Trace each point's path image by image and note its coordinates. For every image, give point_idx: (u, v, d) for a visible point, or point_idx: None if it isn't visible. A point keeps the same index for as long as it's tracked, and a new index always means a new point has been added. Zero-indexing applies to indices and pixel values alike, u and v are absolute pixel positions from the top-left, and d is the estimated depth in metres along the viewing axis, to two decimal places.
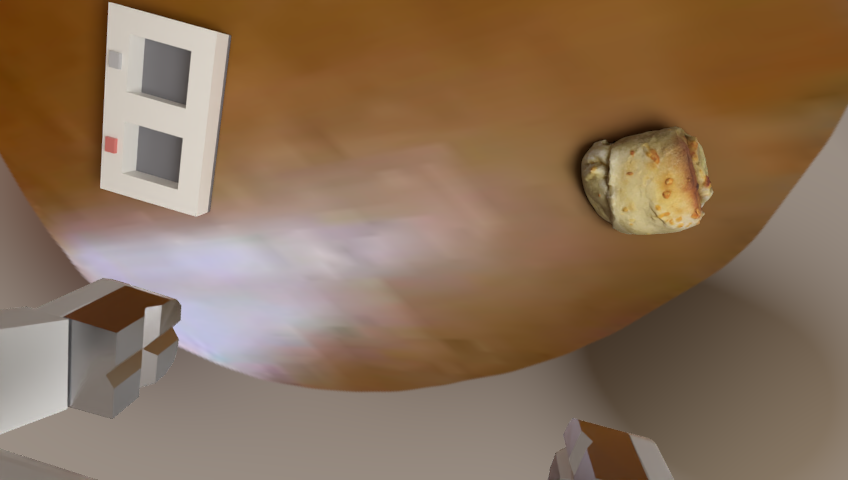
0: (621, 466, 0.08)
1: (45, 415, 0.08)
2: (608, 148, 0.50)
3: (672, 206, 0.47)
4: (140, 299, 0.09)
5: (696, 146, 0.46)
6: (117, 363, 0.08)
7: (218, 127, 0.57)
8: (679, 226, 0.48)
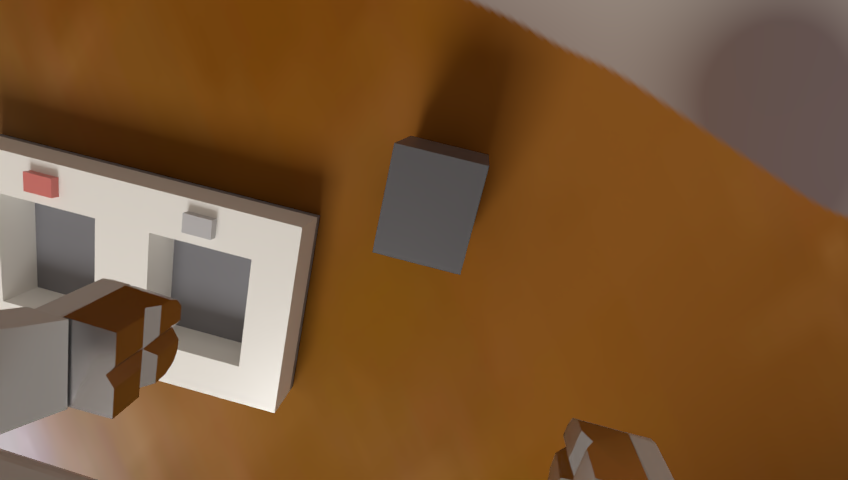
0: (620, 466, 0.08)
1: (45, 415, 0.08)
2: None
3: None
4: (140, 299, 0.09)
5: None
6: (117, 363, 0.08)
7: None
8: None
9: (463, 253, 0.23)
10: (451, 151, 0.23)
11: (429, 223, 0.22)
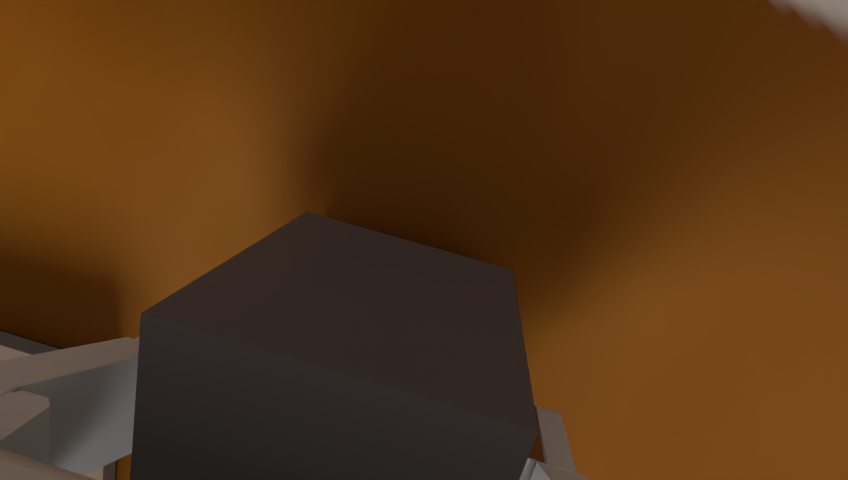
0: None
1: None
2: None
3: None
4: None
5: None
6: None
7: None
8: None
9: None
10: (399, 297, 0.07)
11: None
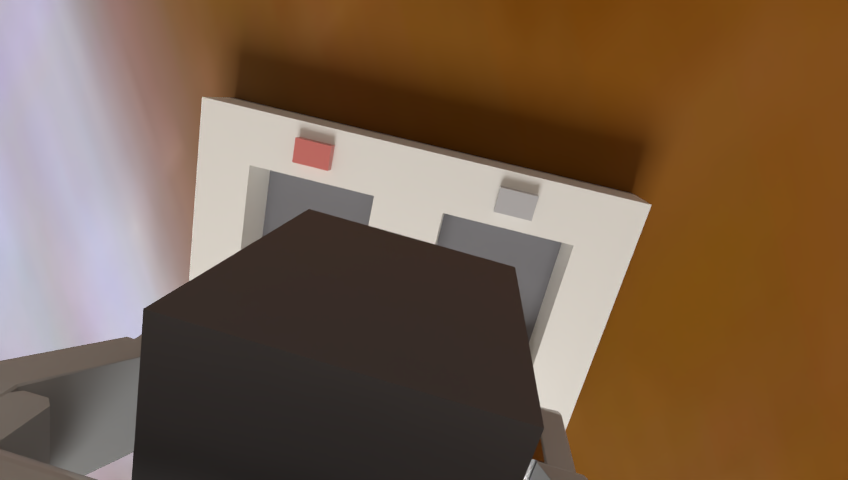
0: None
1: None
2: None
3: None
4: None
5: None
6: None
7: None
8: None
9: None
10: (402, 294, 0.07)
11: None
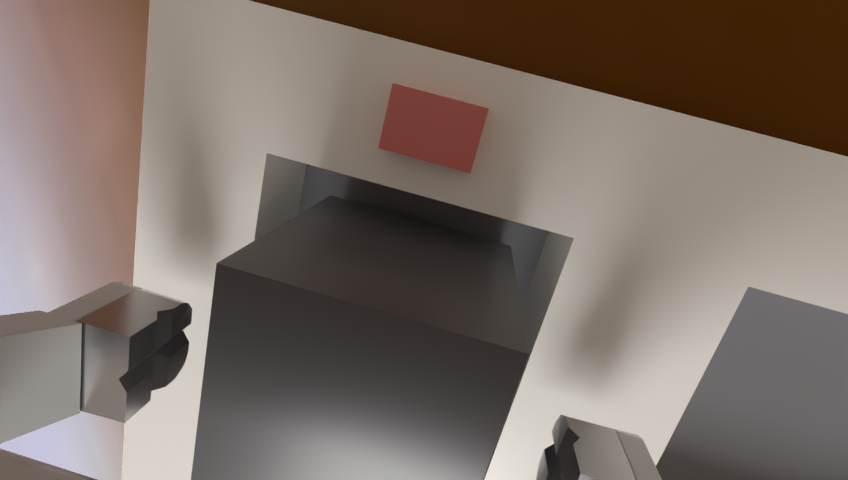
0: (606, 462, 0.08)
1: (58, 419, 0.08)
2: None
3: None
4: (152, 303, 0.09)
5: None
6: (130, 367, 0.08)
7: None
8: None
9: None
10: (415, 261, 0.08)
11: None
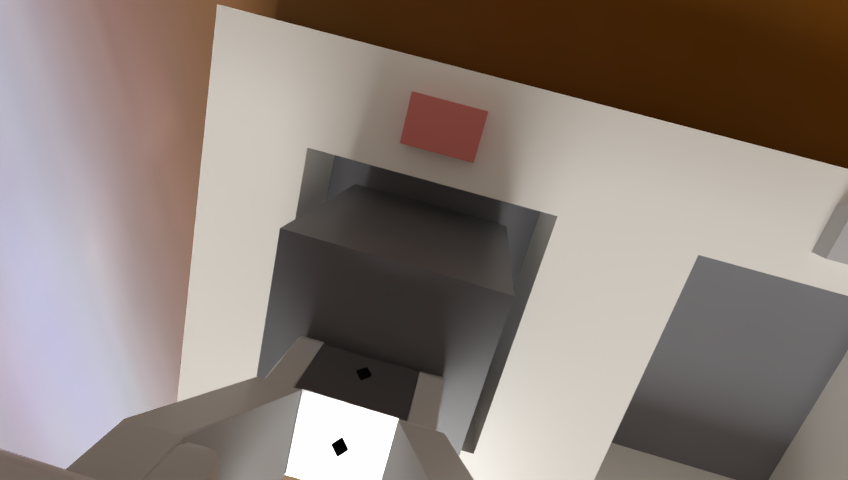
0: (387, 396, 0.08)
1: None
2: None
3: None
4: (345, 360, 0.08)
5: None
6: (344, 433, 0.08)
7: None
8: None
9: None
10: (427, 234, 0.11)
11: None
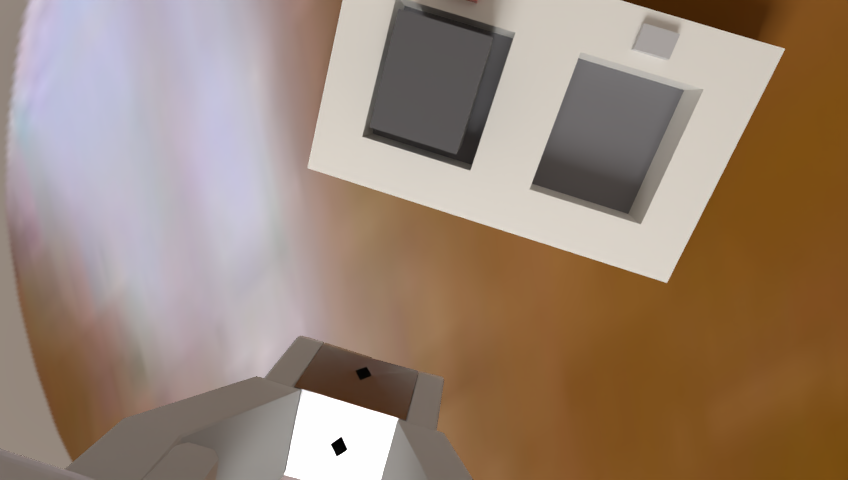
0: (387, 396, 0.08)
1: None
2: None
3: None
4: (345, 360, 0.08)
5: None
6: (343, 432, 0.08)
7: None
8: None
9: (461, 131, 0.22)
10: None
11: (428, 98, 0.22)
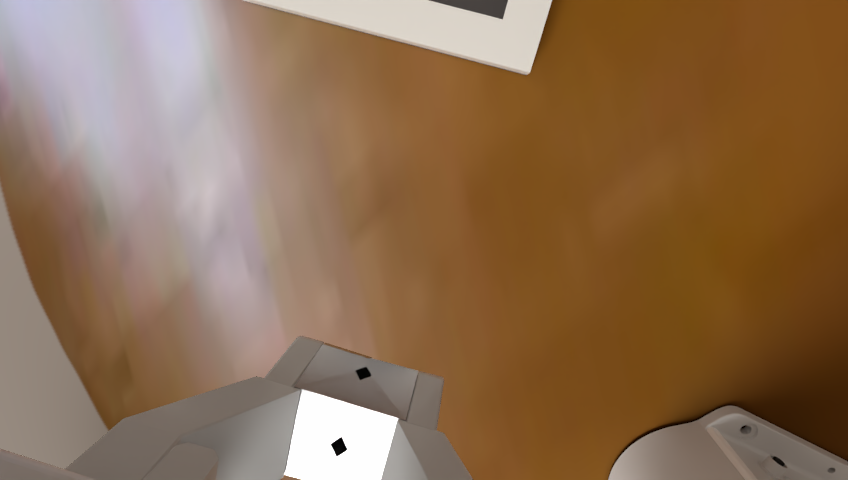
0: (386, 396, 0.08)
1: None
2: None
3: None
4: (345, 360, 0.08)
5: None
6: (343, 432, 0.08)
7: (385, 37, 0.35)
8: None
9: None
10: None
11: None
